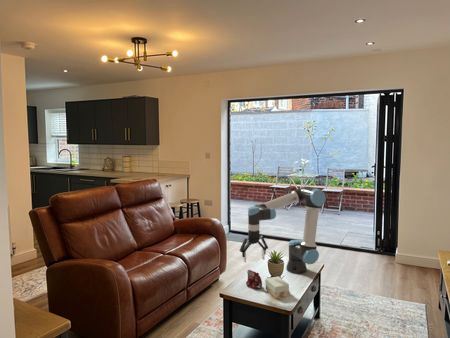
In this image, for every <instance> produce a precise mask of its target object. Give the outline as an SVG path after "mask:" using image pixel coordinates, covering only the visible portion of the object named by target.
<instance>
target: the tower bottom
mask: <svg viewBox="0 0 450 338" xmlns="http://www.w3.org/2000/svg"><path fill="white" fill-rule="evenodd" d="M265 291H267V292H268V293H269V294H270V296H272V297H273V298H274V299H275V298H276V299H281V298H285V297H290V290H289V291H284V292H279V293H274V292H273V291H272V290H271V289H270V288H269V287H268V286H267V285H266V284H265Z"/></svg>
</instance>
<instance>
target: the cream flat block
mask: <svg viewBox="0 0 450 338" xmlns="http://www.w3.org/2000/svg"><path fill="white" fill-rule="evenodd" d="M264 279H265V280H264V281H265V286H266V285H267V286H268V287H269V288H270V289H271V290H272V291H273V292H274V293H279V292H284V291H289V292H290V285H289V284H288V283H287V282H286V281H285V280H284V279H283V278H282V277H281V276H278V275H277V276H273V277H266V278H264Z"/></svg>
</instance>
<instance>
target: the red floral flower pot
mask: <svg viewBox="0 0 450 338" xmlns="http://www.w3.org/2000/svg"><path fill="white" fill-rule="evenodd" d="M246 272H247V280H246V282H245V285H246V286H247V287H249V288H250V287H251V288H252V290H256V289H257V288H262V287H263V282H262V281H263V280H262V278H261V276H260V273H259V272H256V271H254V270H251V269H248V270H247V271H246Z"/></svg>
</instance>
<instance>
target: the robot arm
mask: <svg viewBox="0 0 450 338" xmlns="http://www.w3.org/2000/svg"><path fill="white" fill-rule="evenodd" d="M326 199H327V196H326V194H325V192H324V191H323V190H322V189H320V188H316V187H310V186H303V187H299V188H297V189H294V190H292V191H291V192H290V193H287V194H285V195H282V196H279V197H277V198H274V199H270V200H269V201H266V202H264V203H261V204H253V205H252V206H250V207H249V208H248V210H247V215H248V216H247V220H248V222H247V224H248V228H247V229H248V232H247V236H248V237H244V238H243V241H242V244H241V246H240V248H239V252H241V253H242V255H241V257H242V258H243V263H247V250H248V249H249V248H250V246H251V245H255V244H256V245H257V244H258V245H259V246H260V247H261V259H262V260H265V255H267V254H266V251H267V250H268V249H269V246H268V244H267V243H266V240H265V237H264V236H263V235H261V234H260V232H261V231H260V229H261V228H260V227H261V226H260V223H261V222H262V221H270V220H274V219H276V217H277V211H276V210H279V209H281V208H284V207H286V206H289V205H292V204H299V203H304V207H305V209H306V210H305V219H304V226H303V227H304V230H303V235H302V236H303V237H302V239H291V240H290V241H289V242H288V261H287V264H286V268H285V269H286V271H287V272H289V273H292V274H304V273H307V270H308V268H307V265H313V264H315V263H316V262H317V261H318V260H319V257H320V255H319V251H318V250H317V247H318V245H317V244H316V237H317V229H318V228H317V227H318V220H319V211H320V210H321V209H322V206H324V204H325V203H326ZM260 221H261V222H260ZM260 240H261V242H262V243H261V242H260ZM306 264H307V265H306Z"/></svg>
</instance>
